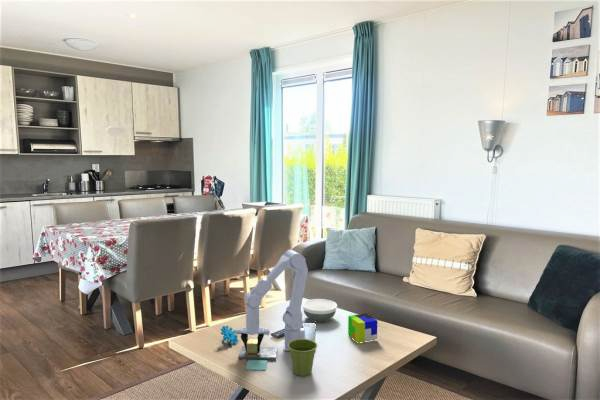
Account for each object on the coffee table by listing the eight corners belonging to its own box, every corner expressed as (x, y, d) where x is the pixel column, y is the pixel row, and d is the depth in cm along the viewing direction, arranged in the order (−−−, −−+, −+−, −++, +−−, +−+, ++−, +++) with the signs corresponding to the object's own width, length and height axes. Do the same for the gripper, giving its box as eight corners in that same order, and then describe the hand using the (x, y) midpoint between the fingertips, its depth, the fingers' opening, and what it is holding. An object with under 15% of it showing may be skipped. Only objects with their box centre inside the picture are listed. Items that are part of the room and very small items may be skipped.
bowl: (319, 329, 209) (319, 313, 209) (294, 318, 223) (294, 303, 222) (344, 320, 222) (344, 304, 221) (319, 310, 236) (319, 296, 235)
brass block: (258, 352, 184) (258, 339, 183) (257, 357, 179) (257, 343, 179) (248, 352, 184) (248, 339, 183) (246, 357, 179) (246, 343, 179)
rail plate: (277, 349, 186) (277, 346, 186) (275, 360, 176) (275, 357, 176) (242, 349, 187) (242, 346, 186) (238, 359, 177) (238, 356, 177)
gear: (231, 345, 187) (218, 327, 190) (222, 353, 188) (210, 334, 191) (243, 339, 197) (231, 321, 200) (235, 346, 198) (223, 329, 201)
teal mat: (267, 360, 176) (267, 360, 176) (265, 370, 168) (265, 369, 168) (248, 360, 176) (248, 359, 176) (245, 370, 168) (245, 369, 168)
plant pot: (323, 371, 167) (323, 344, 166) (303, 382, 159) (304, 354, 158) (301, 361, 175) (301, 336, 174) (281, 372, 167) (281, 345, 165)
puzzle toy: (376, 340, 196) (377, 320, 195) (358, 344, 193) (358, 323, 192) (366, 332, 206) (366, 313, 205) (348, 335, 202) (348, 315, 201)
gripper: (234, 323, 176) (234, 354, 177) (268, 323, 176) (268, 354, 177) (237, 317, 183) (237, 346, 185) (269, 317, 183) (270, 347, 184)
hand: (252, 350), depth 181 cm, fingers closed on brass block, 4 cm apart
